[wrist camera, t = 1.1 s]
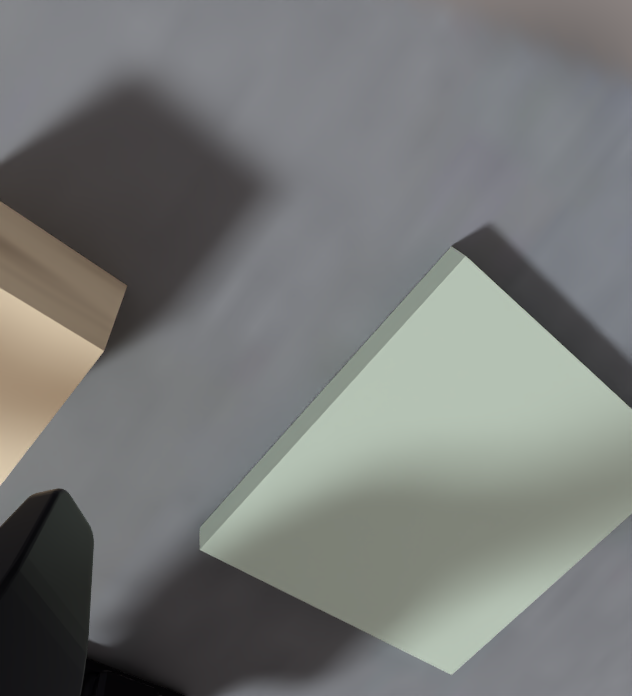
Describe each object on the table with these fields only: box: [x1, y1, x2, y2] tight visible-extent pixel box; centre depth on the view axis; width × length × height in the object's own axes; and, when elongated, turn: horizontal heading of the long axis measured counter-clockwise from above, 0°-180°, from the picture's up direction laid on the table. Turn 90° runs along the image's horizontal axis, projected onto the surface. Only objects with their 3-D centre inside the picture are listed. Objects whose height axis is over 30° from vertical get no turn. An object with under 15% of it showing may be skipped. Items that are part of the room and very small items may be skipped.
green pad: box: [200, 246, 632, 675], centre depth 24 cm, size 14×14×1 cm
